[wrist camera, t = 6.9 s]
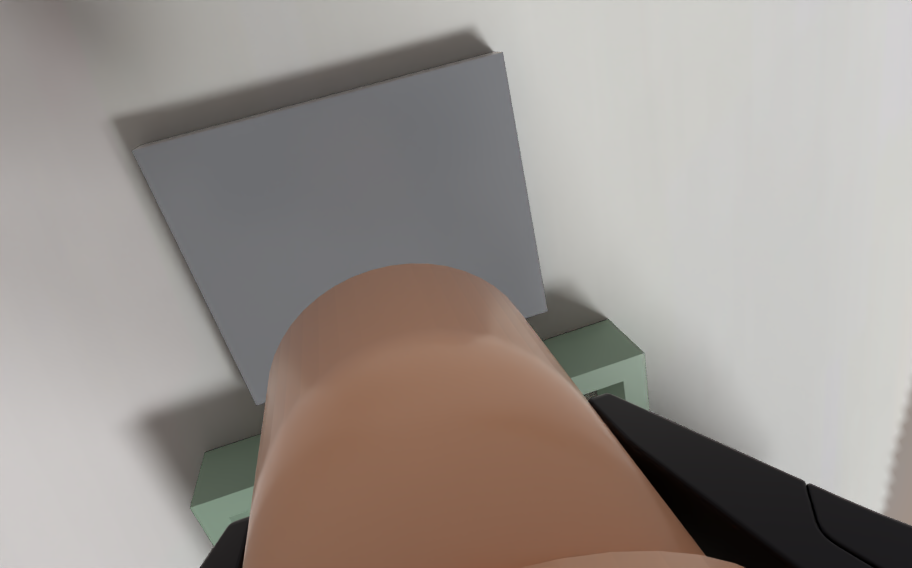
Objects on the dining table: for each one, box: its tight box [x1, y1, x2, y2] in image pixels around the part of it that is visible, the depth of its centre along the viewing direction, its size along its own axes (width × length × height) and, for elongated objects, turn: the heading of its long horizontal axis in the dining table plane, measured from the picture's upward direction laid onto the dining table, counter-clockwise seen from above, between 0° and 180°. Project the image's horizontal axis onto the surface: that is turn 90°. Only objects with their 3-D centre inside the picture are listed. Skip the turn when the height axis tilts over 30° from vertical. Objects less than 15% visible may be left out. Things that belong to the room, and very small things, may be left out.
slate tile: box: [132, 52, 548, 406], centre depth 20 cm, size 12×10×1 cm
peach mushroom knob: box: [243, 264, 745, 568], centre depth 8 cm, size 6×6×8 cm
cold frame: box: [190, 319, 649, 546], centre depth 26 cm, size 18×18×3 cm
